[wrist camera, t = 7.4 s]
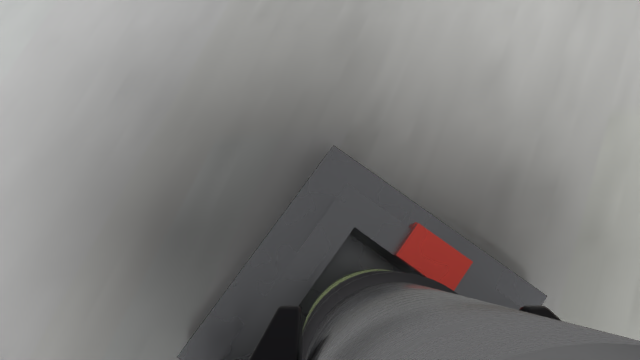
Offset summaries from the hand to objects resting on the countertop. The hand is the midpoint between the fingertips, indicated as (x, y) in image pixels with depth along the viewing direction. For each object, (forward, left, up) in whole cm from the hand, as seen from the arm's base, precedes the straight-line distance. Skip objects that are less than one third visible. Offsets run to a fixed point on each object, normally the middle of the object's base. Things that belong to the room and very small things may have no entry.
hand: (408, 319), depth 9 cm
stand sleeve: (-1, +1, -11) cm, 11 cm away
